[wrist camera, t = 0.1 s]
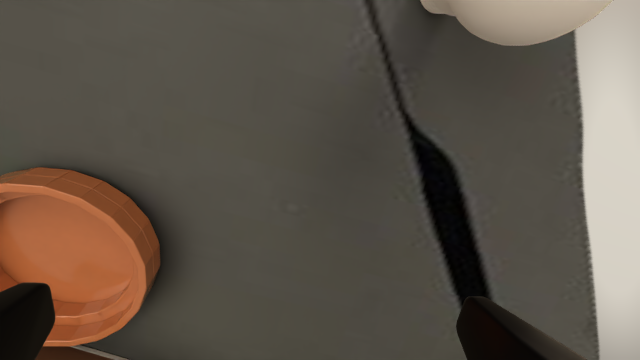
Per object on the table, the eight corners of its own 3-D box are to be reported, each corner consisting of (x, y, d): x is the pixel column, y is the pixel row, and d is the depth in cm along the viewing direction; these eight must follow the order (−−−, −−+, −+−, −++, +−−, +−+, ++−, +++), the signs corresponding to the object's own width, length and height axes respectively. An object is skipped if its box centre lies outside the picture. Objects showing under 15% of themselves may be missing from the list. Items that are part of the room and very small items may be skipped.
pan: (164, 313, 24) (149, 347, 22) (-7, 310, 23) (-47, 346, 20) (159, 174, 21) (140, 193, 18) (-50, 156, 19) (-107, 174, 16)
